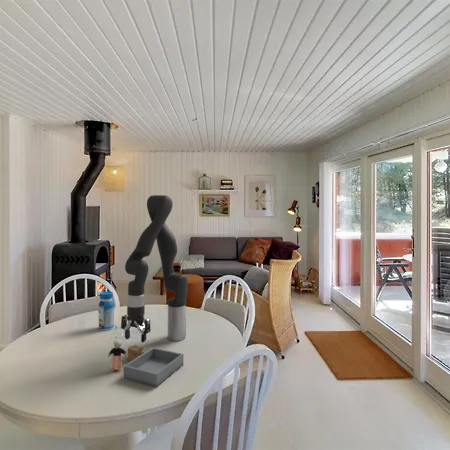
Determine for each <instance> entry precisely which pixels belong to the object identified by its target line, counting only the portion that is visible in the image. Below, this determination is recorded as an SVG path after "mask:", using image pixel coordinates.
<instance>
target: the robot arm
mask: <svg viewBox="0 0 450 450" xmlns="http://www.w3.org/2000/svg"><path fill="white" fill-rule="evenodd" d="M146 201H147V202H146V210H147V212H148V216H149V219H150V224H149V225H148V226H147V227H145V229H144V230H143V232H142V233H141V234H140V236H139V238H138V241H137V243H136V246H135V248H134V249H133V251H132V252H131V253H130V255H129V257H128V258H127V260H126V261H125V265H124V269H125V272H126V274H128V275H132V276H135V277H134V279H133V280H131V281H129V282H128V285H127V286H128V287H127V299H126V300H127V302H126V303H127V304H126V307H127V308H126V314H124V315H122V316H121V318H120V319H121V322H120V329H121V330H123V331H124V338H125V340H129V339H130V338H131V330H130V329H131V328H135V329H137V330H138V331H140V333H141V335H140V336H141V338H140V342H141V343H142V344H143V343H145V342H146V340H147V334H149V333H151V319H150V318H145V310H146V309H145V308H146V307H145V305H146V302H145V300H146V299H145V297H146V296H145V284H146V282H147V281H146V280H147V277H148V275H149V274H148V273H149V265H148V263H147V261H146V260H144V258H146V257H149V256H150V255H151V253H152V251H153V248H154V245H155V242H156V246H157V250H158V253H159V257H160V261H161V268H162V274H163V275H162V276H163V283H164V287H165V289H166V290H167V291H169V292H173V293H175V294H174V295H175V296H174V297H171V298H169V299H168V300H167V340H170V341H173V342H174V341H176V342H179V341H183V340H185V339H186V336H187V317H186V316H187V315H186V313H187V312H186V311H187V308H186V307H187V305H186V304H187V299H188V291H189V290H188V288H189V280H188V277H187V276H186V275H185V274H181V273H180V274H179V273H175V268H174V261H175V259H176V256H177V254H178V245H177V241H176V237H175V235H174V233H173V232H172V230H171V228H169V226H168V225H167V223H166V221H167V219H168V217H169V216H170V214H171V212H172V209H173V204H174V203H173V200H172V198H171V197H170V196H168V195H166V194H165V195H162V194H160V195H157V194H155V195H149V197H148V198H147V200H146Z"/></svg>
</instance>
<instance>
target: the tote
mask: <svg viewBox="0 0 450 450" xmlns="http://www.w3.org/2000/svg"><path fill="white" fill-rule="evenodd" d="M181 366H182V367H183V366H184V353H182V352H175V351H173V350H172V351H171V350H166V349H161V348H156V347H151V348H150V349H149V350H147V351H144V354H142V355H140V356H139V357H137V358H136V359H134V360H130V361H129V362H128V363H126V364H124V365H123V379H124V380H128V381H131V382H136V383H139V384H142V385H147V386H150V387H153V388H158V387H159V386H160V385H162V384H163V383H164V382H166V381H167V380H168V379H169V378H170V377H171V376H172V374H173V373H174V372H175V371H176V372H178V371H179V370H180V369H181V368H182V367H181ZM180 367H181V368H180ZM179 368H180V369H179ZM178 369H179V370H178ZM176 372H175V373H176ZM175 373H174V374H175ZM174 374H173V375H174ZM167 378H168V379H167ZM166 379H167V380H166Z"/></svg>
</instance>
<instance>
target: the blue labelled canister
mask: <svg viewBox="0 0 450 450" xmlns="http://www.w3.org/2000/svg"><path fill="white" fill-rule="evenodd" d="M113 294H114V292H113V291H108V290H107V291H101V292H100V293H99V302H98V310H97V312H98V330H99V331H110V330H113V329H114V328H115V307H114V306H115V301H114V300H113V298H114V295H113ZM113 327H114V328H113ZM112 328H113V329H112Z"/></svg>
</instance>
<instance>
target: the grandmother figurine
mask: <svg viewBox="0 0 450 450" xmlns="http://www.w3.org/2000/svg"><path fill="white" fill-rule="evenodd" d="M121 346H122V341H121V340H120V339H114V340H113V348H111V350H110V351H109V352H108V355H107V357H108V358H111V356H112V359H111V361H112V362H111V368H110V370H109V371H111V372H114V371H117V372H121V371H122V362H123V361H122V358H123V357H122V354H123V356H124V357H125V358H128V353H127V352H126V350H125V349H124V348H121Z"/></svg>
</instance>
